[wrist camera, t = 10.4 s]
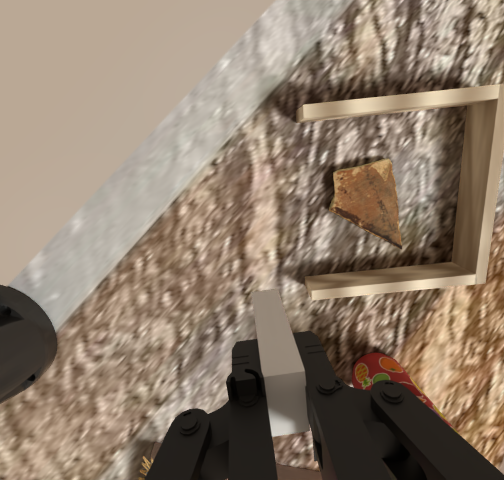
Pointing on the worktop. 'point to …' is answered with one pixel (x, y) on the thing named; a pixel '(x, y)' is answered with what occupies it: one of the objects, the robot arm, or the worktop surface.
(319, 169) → the worktop surface
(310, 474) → the pink bristle brush
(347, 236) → the worktop surface
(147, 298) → the worktop surface
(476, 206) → the box
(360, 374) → the smoothie
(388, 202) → the shard
